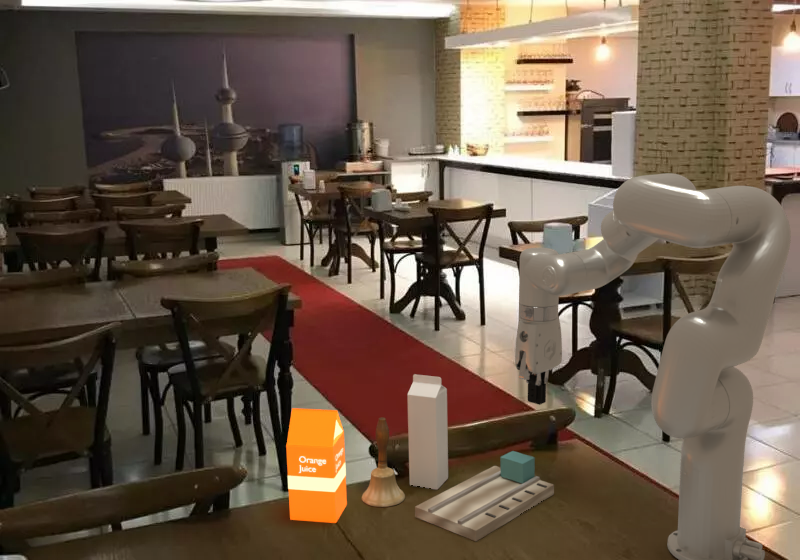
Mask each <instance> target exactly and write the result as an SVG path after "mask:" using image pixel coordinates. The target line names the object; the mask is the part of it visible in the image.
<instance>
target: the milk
mask: <svg viewBox="0 0 800 560" xmlns="http://www.w3.org/2000/svg"><path fill="white" fill-rule="evenodd" d="M407 426H408V427H407V429H408V430H407V431H408V433H407V435H408V436H407V437H408V464H409V465H408V469H409V470H408V471H409V474H408V476H409V486H411V485H413V486H412V487H417V486H420V487H419V488H423V487H425V489H429V488H431V489H430V490H434V491H437V490H438V489H440V488H441V487H442V485H443V484H444V483H445V482H446V481H447V480H448V479H449V454H448V453H449V449H448V447H449V445H448V444H449V443H448V436H449V435H448V389H447V388H446V387H445V386H444V385H443V384H442V378H441V376H431V375H423V374H416V373H414V374H413V375H412V384H411V385H410V388H409V390H408V392H407ZM438 491H439V490H438Z"/></svg>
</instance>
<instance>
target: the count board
mask: <svg viewBox="0 0 800 560" xmlns="http://www.w3.org/2000/svg"><path fill="white" fill-rule="evenodd" d="M554 495H555V484H554V483H550V482H547V481H544V480H541V477H540V476H537V475H535V477H534V478H532V479H530V480H528V481H526V482H525V483H523V484H522V483H519V482H516V481H513V480H510V479H507V478H504V477H501V466H497V465H493V466H491V467H490V468H487V469H485V470H483V471H481V472H479V473H477V474H476V475H474V476H472V477H470V478H468V479H466V480H464V481H462V482H460V483H458V484H456V485H454V486H452V487H450V488H448V489H447V490H445V491H442V492H441V493H439V494H436V495H435V496H433V497H431V498H429V499H427V500H424V501H423V502H422V503H421V502H420V504H417V505H416V506H414V517H415V518H417V519H419V520H422V521H424V522H427V523H428V524H429V523H430V524H432V525H434V526H436V527H439V528H442V529H444V530H447V531H450V532H452V533H454V534H457V535H459V536H461V537H464V538H466V539H469V540H472V541H474V542H478V541H479V540H481V539H482V538H484V537H486V536H487V535H489V534H491V533H492V532H494V531H495V530H497V529H499V528H501V527H502V526H504V525H505V524H508V523H509V522H510V521H512V520H514V519H516V518H517V517H519V516H520V514H521V513H522V514H524V513H525V512H524V511H526V510H527V511H529V510H530V509H532V508H533V506H534V507H535V506H537V505H539V504H540V503H542V502H544V501H546V500H547V499H549V498H551V497H553V496H554ZM543 500H544V501H543ZM541 501H542V502H541ZM538 503H539V504H538ZM531 507H532V508H531ZM528 509H529V510H528ZM527 511H526V512H527ZM523 512H524V513H523ZM522 514H521V515H522Z"/></svg>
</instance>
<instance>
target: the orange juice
mask: <svg viewBox="0 0 800 560" xmlns="http://www.w3.org/2000/svg"><path fill="white" fill-rule="evenodd" d="M288 427H289V428H288V432H287V440H286V441H287V442H286V445H285V448H286V465H287V466H286V467H287V489H288V500H289V502H288V503H289V505H288V506H289V518H290V519H289V520H290V521H292V520H293V521H304V522H315V523H331V524H336V523H337V522H338V521H339V519H340V517H341V516H342V514H343V512H344V510H345V508H346V507H347V505H348V501H347V479H346V478H347V469H346V468H347V466H346V464H347V463H346V452H345V451H346V449H345V445H346V444H345V431H344V428H343V424H342V421H341V419H340V414H339V412H338V410H336V409H320V408H319V409H318V408H317V409H316V408H298V407H297V408H296V407H294V408H293V407H292V408H291V412H290V419H289V425H288Z"/></svg>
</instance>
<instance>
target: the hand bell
mask: <svg viewBox="0 0 800 560" xmlns="http://www.w3.org/2000/svg"><path fill="white" fill-rule="evenodd" d="M389 440H390V429H389V426H388V423H387V419H386V418H385V417H378V421H377V425H376V429H375V441H376V446H377V449H378V450H377V451H378V457H377V459H378V460H377V462H378V463H377V467H376V468H374V469H372V470H371V472H370V479H369V484H368V487H367V488H366V490H364V492H363V493H362V496H361V501H362V502H363V503H364V504H366V505H367V506H368V505H369V506H371V507H378V508H388V507H393V506H394V507H395V506H396V505H398V504H399V505H400V504H401V503H402V502H403V501H404V500H405V498H406V494H405V493H404V491H403V490H402V489H400V487H399V486H398V484H397V480H396V479H397V478H396V475H395V471H394V469H393V468H390V467H388V454H387V453H388V451H387V450H388V449H387V448H388V445H389V442H390V441H389Z"/></svg>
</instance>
